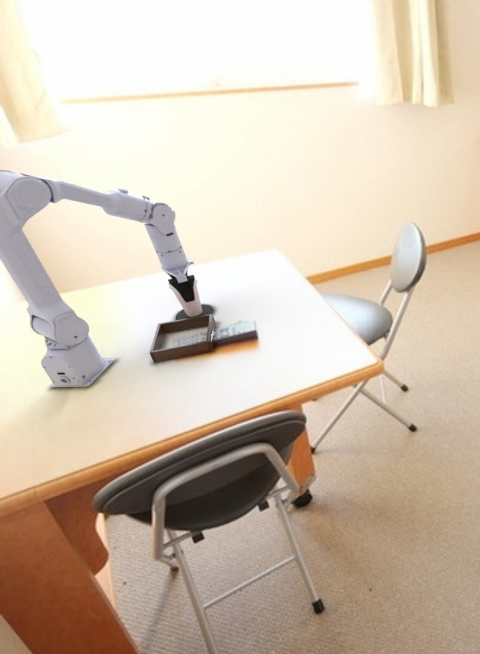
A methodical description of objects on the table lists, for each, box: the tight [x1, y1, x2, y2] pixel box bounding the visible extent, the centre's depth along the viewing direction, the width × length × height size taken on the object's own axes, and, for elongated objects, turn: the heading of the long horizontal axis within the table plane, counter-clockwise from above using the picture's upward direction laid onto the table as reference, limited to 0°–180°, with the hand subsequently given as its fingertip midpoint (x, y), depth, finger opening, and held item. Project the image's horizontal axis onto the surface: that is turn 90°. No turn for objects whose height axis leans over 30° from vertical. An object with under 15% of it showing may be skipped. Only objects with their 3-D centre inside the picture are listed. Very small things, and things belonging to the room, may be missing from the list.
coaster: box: [175, 303, 214, 320], centre depth 131 cm, size 9×9×1 cm
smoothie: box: [167, 277, 202, 317], centre depth 127 cm, size 6×6×14 cm
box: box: [149, 313, 217, 364], centre depth 120 cm, size 13×12×3 cm
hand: (187, 295), depth 128 cm, fingers closed on smoothie, 6 cm apart
